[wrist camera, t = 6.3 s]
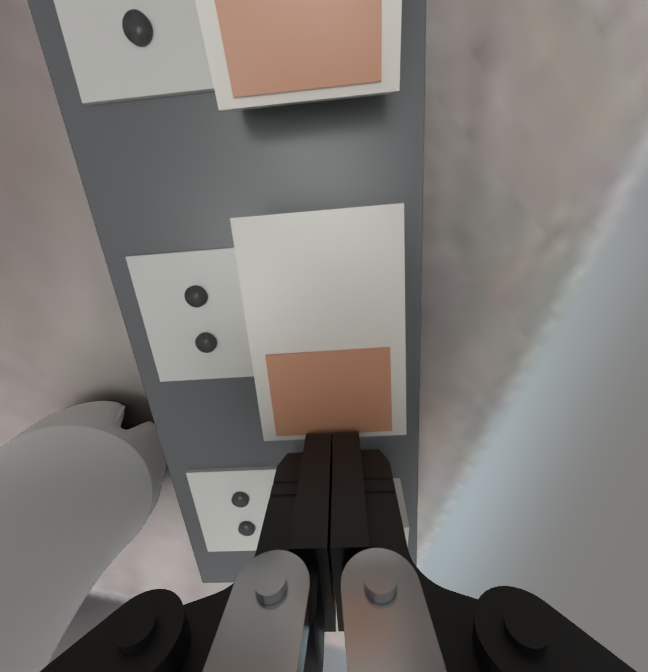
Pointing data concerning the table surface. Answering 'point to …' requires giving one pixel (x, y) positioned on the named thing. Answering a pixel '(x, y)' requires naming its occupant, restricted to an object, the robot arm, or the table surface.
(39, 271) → the table surface
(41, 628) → the water bottle
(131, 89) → the power strip
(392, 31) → the rocker
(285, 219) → the plate
